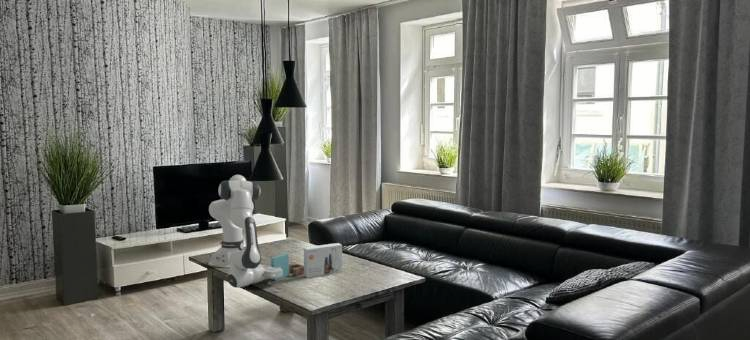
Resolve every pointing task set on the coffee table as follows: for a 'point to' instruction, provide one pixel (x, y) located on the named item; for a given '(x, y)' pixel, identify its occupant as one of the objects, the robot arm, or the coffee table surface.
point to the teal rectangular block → (281, 265)
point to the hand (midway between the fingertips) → (277, 267)
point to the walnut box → (296, 269)
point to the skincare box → (322, 260)
